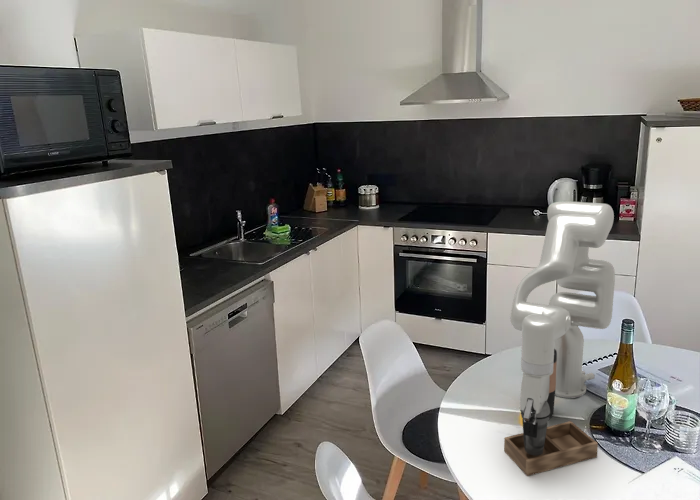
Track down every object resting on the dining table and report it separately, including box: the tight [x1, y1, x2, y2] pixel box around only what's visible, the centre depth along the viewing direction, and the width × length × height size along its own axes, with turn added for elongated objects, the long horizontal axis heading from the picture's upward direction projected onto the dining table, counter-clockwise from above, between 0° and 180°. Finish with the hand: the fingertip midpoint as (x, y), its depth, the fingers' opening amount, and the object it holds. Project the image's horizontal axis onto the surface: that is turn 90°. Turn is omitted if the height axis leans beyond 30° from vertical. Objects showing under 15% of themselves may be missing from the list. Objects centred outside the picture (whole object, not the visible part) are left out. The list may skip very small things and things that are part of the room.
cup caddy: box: [503, 420, 599, 477], centre depth 144 cm, size 20×11×4 cm, turn 106°
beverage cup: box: [519, 401, 550, 456], centre depth 140 cm, size 7×7×20 cm
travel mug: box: [547, 349, 557, 420], centre depth 160 cm, size 8×8×20 cm
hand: (534, 427), depth 141 cm, fingers closed on beverage cup, 6 cm apart
